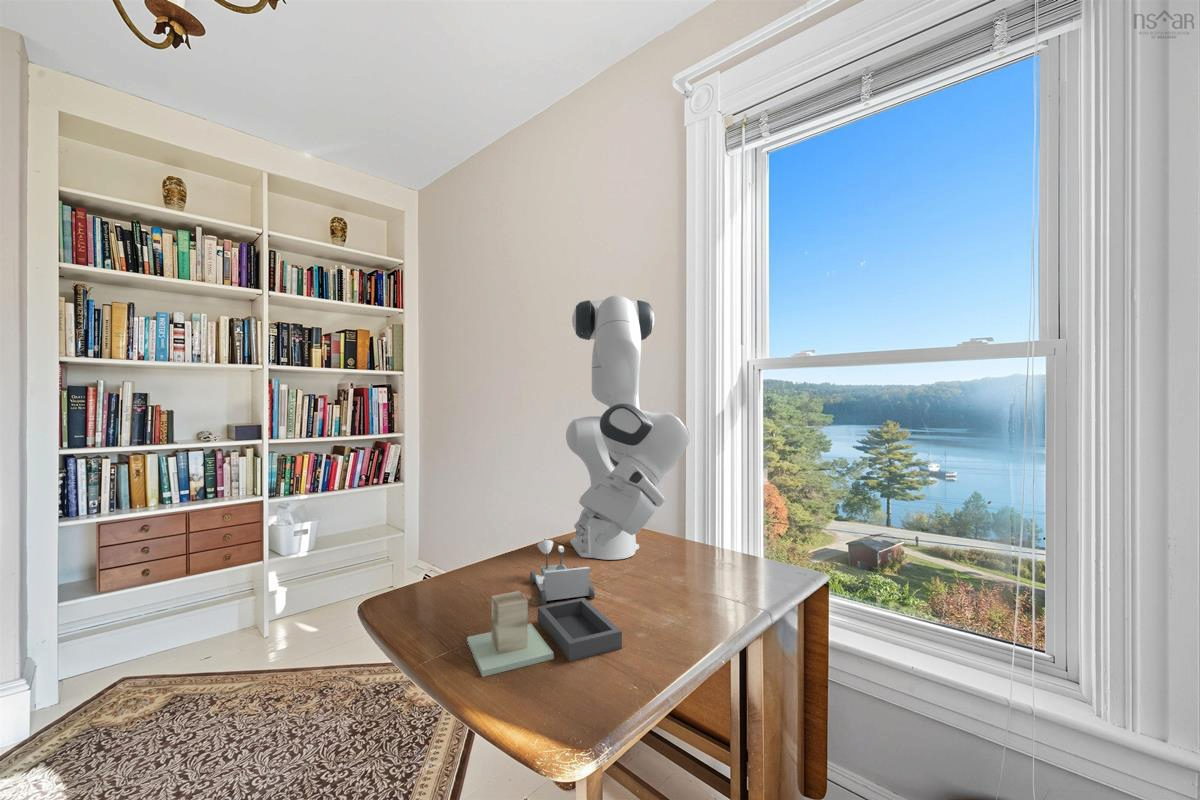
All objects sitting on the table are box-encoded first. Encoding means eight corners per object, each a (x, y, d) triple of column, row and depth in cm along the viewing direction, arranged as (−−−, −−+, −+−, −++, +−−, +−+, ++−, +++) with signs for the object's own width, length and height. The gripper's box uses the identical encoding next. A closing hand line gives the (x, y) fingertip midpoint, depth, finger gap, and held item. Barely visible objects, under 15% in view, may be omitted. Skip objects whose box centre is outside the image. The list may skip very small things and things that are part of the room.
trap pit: (537, 622, 94) (537, 606, 94) (583, 612, 99) (583, 597, 99) (569, 661, 80) (569, 643, 80) (621, 648, 85) (621, 631, 85)
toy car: (528, 538, 119) (573, 534, 122) (528, 577, 119) (573, 572, 122) (542, 561, 102) (594, 556, 105) (542, 608, 102) (594, 601, 105)
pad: (467, 642, 86) (467, 637, 86) (531, 628, 92) (531, 623, 92) (482, 677, 76) (482, 670, 76) (553, 658, 81) (553, 653, 81)
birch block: (491, 641, 85) (491, 595, 85) (518, 635, 87) (519, 590, 87) (498, 654, 80) (498, 606, 80) (527, 647, 83) (527, 601, 83)
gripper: (599, 463, 104) (556, 513, 100) (650, 479, 86) (600, 541, 81) (617, 482, 106) (576, 532, 102) (670, 502, 88) (623, 563, 84)
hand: (587, 536), depth 92 cm, fingers open, 8 cm apart
